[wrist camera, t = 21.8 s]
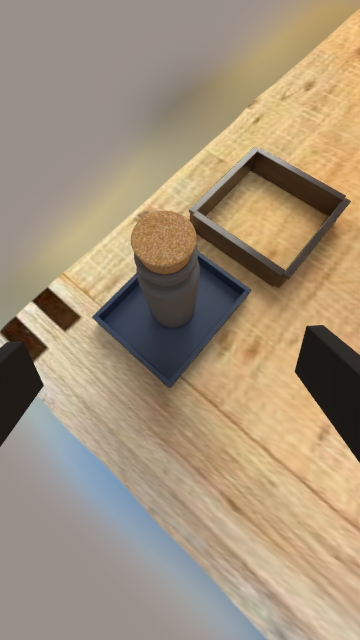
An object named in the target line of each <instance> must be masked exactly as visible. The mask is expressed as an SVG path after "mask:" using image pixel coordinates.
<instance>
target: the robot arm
mask: <svg viewBox="0 0 360 640" xmlns="http://www.w3.org/2000/svg"><path fill="white" fill-rule="evenodd" d="M295 373H296V374H297V376H298V377H299V378H300V380H301V381H302V383H303V384H304V385H305V387H306V388H307V390H308V391H309V392H310V394H311V395H312V397H313V398H314V399H315V401H316V402H317V404H318V405H319V406H320V408H321V409H322V411H323V412H324V413H325V415H326V416H327V418H328V419H329V420H330V422H331V423H332V425H333V426H334V427H335V429H336V430H337V432H338V433H339V434H340V436H341V437H342V439H343V440H344V441H345V443H346V444H347V446H348V447H349V448H350V450H351V451H352V453H353V454H354V455H355V457H356V458H357V460H358V461H359V462H360V355H359V354H358V353H356V352H355V351H354V350H353V349H352V348H350V347H349V346H348V345H347V344H345V343H344V342H343V341H342V340H341V339H339V338H338V337H337V336H336V335H335V334H333V333H332V332H331V331H330V330H328V329H327V328H326V327H325V326H324V325H316V326H307V327H306V330H305V334H304V338H303V342H302V346H301V350H300V353H299V357H298V361H297V365H296V369H295ZM43 386H44V385H43V383H42V380H41V378H40V376H39V374H38V372H37V370H36V367H35V365H34V363H33V361H32V359H31V357H30V354H29V352H28V350H27V348H26V346H25V344H24V341H22V342H7V343H6V344H4V345H3V346H2V347H1V348H0V446H1V445H2V444H3V442H4V441H5V440H6V438H7V437H8V435H9V434H10V432H11V431H12V430H13V428H14V427H15V425H16V424H17V423H18V421H19V420H20V418H21V417H22V415H23V414H24V412H25V411H26V410H27V408H28V407H29V406H30V404H31V403H32V401H33V400H34V399H35V397H36V396H37V394H38V393H39V391H40V390H41V389H42V387H43Z"/></svg>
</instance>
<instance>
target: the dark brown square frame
mask: <svg viewBox="0 0 360 640" xmlns="http://www.w3.org/2000/svg"><path fill="white" fill-rule="evenodd" d="M251 170H252V171H253V172H255V173H257V174H258V175H260V176H262V177H263V178H265V179H267V180H269V181H270V182H272V183H274V184H275V185H277V186H279V187H280V188H282V189H284V190H285V191H287V192H289V193H290V194H292V195H294V196H296V197H297V198H299V199H301V200H302V201H304V202H306V203H307V204H309V205H311V206H312V207H314V208H316V209H318V210H319V211H321V212H323V213H324V214H326V215H328V216H329V218H328V219H327V220H326V221H325V223H324V224H323V225H322V226H321V228H320V229H319V230H318V231H317V233H316V234H315V235H314V236H313V237H312V239H311V240H310V241H309V242H308V244H307V245H306V246H305V247H304V249H303V250H302V251H301V252H300V253H299V255H298V256H297V257H296V258H295V260H294V261H293V262H292V263H291V265H290V266H289V267H288V268H287V269H286V271H285V270H284V269H282V268H281V267H279V266H278V265H276V264H275V263H274V262H272V261H271V260H269V259H268V258H266V257H265V256H263V255H262V254H260V253H259V252H257V251H256V250H254V249H253V248H251V247H250V246H248V245H247V244H245V243H244V242H243V241H241V240H240V239H238V238H237V237H235V236H234V235H232V234H231V233H229V232H228V231H226V230H225V229H223V228H222V227H220V226H219V225H217V224H216V223H214V222H213V221H212V220H210V219H209V218H207V217H206V215H207V214H208V213H209V212H210V211H211V210H212V209H213V208H214V207H215V206H216V205H217V204H218V203H219V202H220V201H221V200H222V199H223V198H224V197H225V196H226V195H227V194H228V193H229V192H230V191H231V190H232V189H233V188H234V187H235V186H236V185H237V184H238V183H239V182H240V181H241V180H242V179H243V178H244V177H245V176H246V175H247V174H248V173H249V172H250V171H251ZM345 197H346V196H345V195H344V194H342V193H340V192H338V191H337V190H335V189H333V188H331V187H329V186H328V185H326V184H324V183H322V182H321V181H319V180H317V179H315V178H313V177H312V176H310V175H308V174H306V173H305V172H303V171H301V170H299V169H297V168H296V167H294V166H292V165H290V164H288V163H287V162H285V161H283V160H281V159H280V158H278V157H276V156H274V155H272V154H271V153H269V152H267V151H265V150H264V149H262V148H261V149H260V150H259V149H258V148H256V147H253V148H252V149H251V150H250V151H249V152H248V153H247V154H246V155H245V156H244V157H243V158H242V159H241V160H240V161H239V162H238V163H237V164H236V165H235V166H234V167H233V168H232V169H231V170H230V171H229V172H228V173H226V174H225V175H224V176H223V177H222V178H221V179H220V180H219V181H218V182H217V183H216V184H215V185H214V186H213V187H212V188H211V189H210V190H209V191H208V192H207V193H206V194H205V195H204V196H203V197H202V198H201V199H200V200H199V201H198V202H196V203H195V204H194V205H193V206H192V207H191V208H190V209H189V212H190V222H191V223H192V225H193V227H194V228H195V231H196V233H198V234H199V235H200V236H202V237H203V238H205V239H206V240H207V241H209V242H210V243H212V244H213V245H215V246H216V247H217V248H219V249H220V250H222V251H223V252H225V253H226V254H227V255H229V256H230V257H232V258H233V259H234V260H236V261H237V262H239V263H240V264H242V265H243V266H244V267H246V268H247V269H249V270H250V271H252V272H253V273H254V274H256V275H257V276H259V277H260V278H261V279H263V280H264V281H266V282H267V283H269V284H270V285H271V286H274V285H276V286H277V287H281V286H282V284H283V283H284V282H285V281H286V280H287V279H288V280H289V279H290V277H291V276H292V275H293V274H294V272H295V271H296V270H297V269H298V267H299V266H300V265H301V264H302V262H303V261H304V260H305V259H306V257H307V256H308V255H309V254H310V252H311V251H312V250H313V249H314V247H315V246H316V245H317V244H318V242H319V241H320V240H321V239H322V237H323V236H324V235H325V234H326V232H327V231H328V230H329V229H330V227H331V226H332V225H333V223H334V222H335V221H336V220H337V218H338V217H339V216H340V215H341V213H342V212H343V211H344V210H345V208H346V207H347V206H348V205H349V203H350V202H351V201H350V200H348V199H346V198H345Z"/></svg>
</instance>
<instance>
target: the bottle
mask: <svg viewBox="0 0 360 640" xmlns="http://www.w3.org/2000/svg"><path fill="white" fill-rule="evenodd" d="M196 240H197V237H196V231H195V228H194V227H193V225H192V223H191V222H190V221H189V220H188V219H187V218H186V217H184V216H183V215H181V214H179V213H176V212H172V211H158V212H154V213H151V214H149V215H147V216H145V217H144V218H142V219H141V220H140V221H139V222H138V223H137V224H136V225H135V227H134V229H133V232H132V235H131V245H132V248H133V251H134V259H135V263H136V266H137V278H138V282H139V284H140V287H141V289H142V291H143V294H144V296H145V298H146V301H147V303H148V305H149V308H150V310H151V312H152V314H153V316H154V318H155V320H156V321H157V322H158V323H159V324H161V325H162V326H164V327H167V328H179V327H182V326H184V325H186V324H187V323H188V322H189V321H190V320H191V318H192V316H193V314H194V310H195V304H196V298H197V291H198V284H199V275H200V267H199V262H198V260H197V258H198V250H197V245H196Z"/></svg>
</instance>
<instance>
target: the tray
mask: <svg viewBox="0 0 360 640" xmlns="http://www.w3.org/2000/svg"><path fill="white" fill-rule="evenodd" d="M197 260H198V262H199V267H200V275H199V284H198V291H197V298H196V304H195V310H194V314H193V316H192V318H191V320H190V321H189V322H188V323H187V324H186V325H184V326H182V327H179V328H167V327H164V326H162V325H161V324H159V323H158V322H157V321H156V320H155V318H154V316H153V314H152V312H151V310H150V308H149V305H148V303H147V301H146V298H145V296H144V294H143V291H142V289H141V287H140V284H139V282H138V278H137V273H136V274H135V275H134V276H133V277H132V278H131V279H130V280H129V281H128V282H127V283H126V284H125V285H124V286H123V287H122V288H121V289H120V290H119V291H118V292H117V293H116V294H115V295H114V296H113V297H112V298H111V299H110V300H109V301H108V302H107V303H106V304H105V305H104V306H103V307H102V308H101V309H100V310H99V311H98V312H97V313H96V314H95V315H94V316H93V317H92V318H93V319H94V320H95V321H97V322H98V323H99V324H100V325H101V326H102V327H103V328H104V329H105V330H106V331H107V332H109V333H110V334H111V335H112V336H113V337H114V338H115V339H116V340H117V341H118V342H119V343H121V344H122V345H123V346H124V347H125V348H126V349H127V350H128V351H129V352H130V353H132V354H133V355H134V356H135V357H136V358H137V359H138V360H139V361H140V362H141V363H142V364H144V365H145V366H146V367H147V368H148V369H149V370H150V371H151V372H152V373H153V374H154V375H156V376H157V377H158V378H159V379H160V380H161V381H162V382H163V383H164V384H165V385H166V386H168V387H169V388H171V387H172V385H173V384H174V383H175V382H176V381H177V379H178V378H179V377H180V376H181V375H182V374H183V372H184V371H185V370H186V369H187V368H188V366H189V365H190V364H191V363H192V362H193V360H194V359H195V358H196V357H197V356H198V354H199V353H200V352H201V351H202V350H203V348H204V347H205V346H206V345H207V344H208V342H209V341H210V340H211V339H212V338H213V336H214V335H215V334H216V333H217V332H218V330H219V329H220V328H221V327H222V326H223V324H224V323H225V322H226V321H227V320H228V318H229V317H230V316H231V315H232V314H233V312H234V311H235V310H236V309H237V308H238V307H239V305H240V304H241V303H242V302H243V301H244V299H245V298H246V297H247V296H248V294H249V293H250V291H251V289H250V288H248V287H247V286H245V285H244V284H243V283H241V282H240V281H239V280H237V279H236V278H234V277H233V276H232V275H230V274H229V273H228V272H226V271H225V270H223V269H222V268H221V267H219V266H218V265H216V264H215V263H214V262H212V261H211V260H210V259H208V258H207V257H205V256H204V255H203V254H201V253H200V252H199V251H198V258H197Z"/></svg>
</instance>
